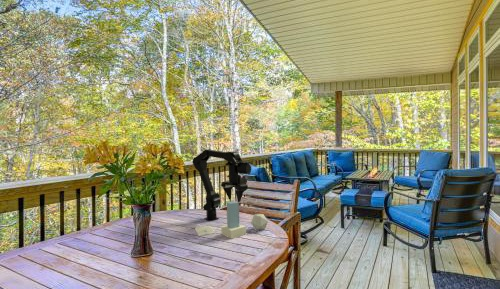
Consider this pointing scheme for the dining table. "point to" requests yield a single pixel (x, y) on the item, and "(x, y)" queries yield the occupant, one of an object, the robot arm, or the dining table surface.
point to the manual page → (204, 230)
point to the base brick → (233, 231)
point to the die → (259, 222)
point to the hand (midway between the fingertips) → (234, 200)
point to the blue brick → (233, 214)
